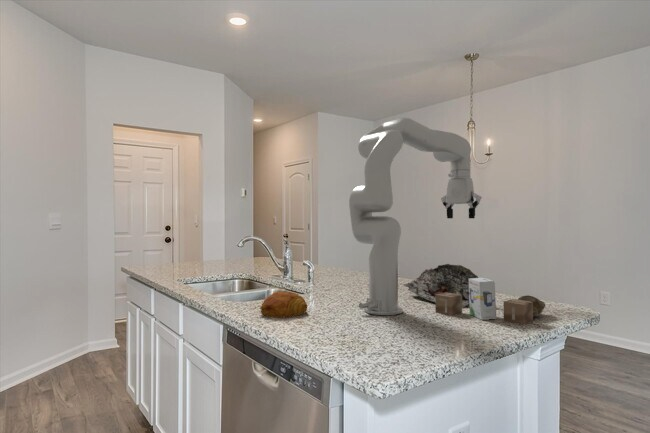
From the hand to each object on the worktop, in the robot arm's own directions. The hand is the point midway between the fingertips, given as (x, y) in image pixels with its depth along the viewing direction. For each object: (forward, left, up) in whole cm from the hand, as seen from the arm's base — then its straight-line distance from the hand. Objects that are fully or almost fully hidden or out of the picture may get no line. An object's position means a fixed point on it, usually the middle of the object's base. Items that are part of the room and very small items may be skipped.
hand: (460, 218), depth 166 cm
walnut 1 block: (-23, -34, -31) cm, 51 cm away
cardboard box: (-29, -14, -31) cm, 45 cm away
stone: (-14, -32, -31) cm, 47 cm away
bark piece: (-14, +1, -31) cm, 34 cm away
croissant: (-71, +21, -31) cm, 80 cm away
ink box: (-26, -24, -31) cm, 47 cm away
